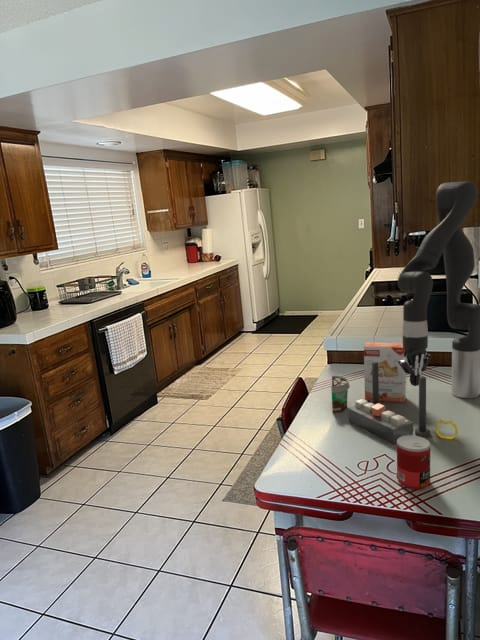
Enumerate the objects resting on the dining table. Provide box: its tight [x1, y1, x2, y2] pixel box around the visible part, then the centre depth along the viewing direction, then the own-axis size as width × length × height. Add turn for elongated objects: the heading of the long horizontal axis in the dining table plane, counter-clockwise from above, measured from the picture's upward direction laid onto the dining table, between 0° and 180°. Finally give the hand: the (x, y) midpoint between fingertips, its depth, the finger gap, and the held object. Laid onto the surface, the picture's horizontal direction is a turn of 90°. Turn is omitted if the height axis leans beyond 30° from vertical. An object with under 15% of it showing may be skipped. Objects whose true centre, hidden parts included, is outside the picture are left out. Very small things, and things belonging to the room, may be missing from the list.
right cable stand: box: [414, 376, 431, 438], centre depth 145 cm, size 4×4×18 cm
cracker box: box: [363, 341, 407, 404], centre depth 173 cm, size 14×6×21 cm, turn 68°
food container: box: [330, 375, 351, 414], centre depth 170 cm, size 12×6×10 cm, turn 168°
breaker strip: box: [347, 398, 414, 446], centre depth 151 cm, size 8×20×7 cm, turn 28°
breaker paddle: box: [371, 402, 386, 417], centre depth 150 cm, size 3×3×2 cm
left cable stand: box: [372, 362, 380, 405], centre depth 162 cm, size 4×4×18 cm
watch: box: [434, 417, 459, 440], centre depth 142 cm, size 6×3×6 cm, turn 59°
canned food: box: [396, 435, 431, 491], centre depth 121 cm, size 8×8×11 cm
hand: (415, 384), depth 156 cm, fingers closed
